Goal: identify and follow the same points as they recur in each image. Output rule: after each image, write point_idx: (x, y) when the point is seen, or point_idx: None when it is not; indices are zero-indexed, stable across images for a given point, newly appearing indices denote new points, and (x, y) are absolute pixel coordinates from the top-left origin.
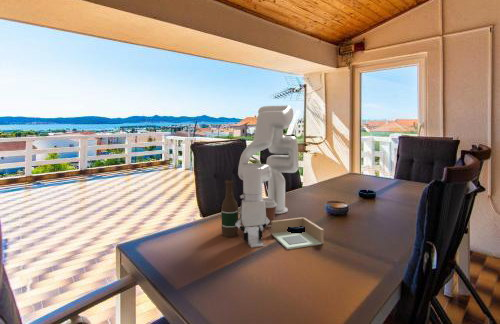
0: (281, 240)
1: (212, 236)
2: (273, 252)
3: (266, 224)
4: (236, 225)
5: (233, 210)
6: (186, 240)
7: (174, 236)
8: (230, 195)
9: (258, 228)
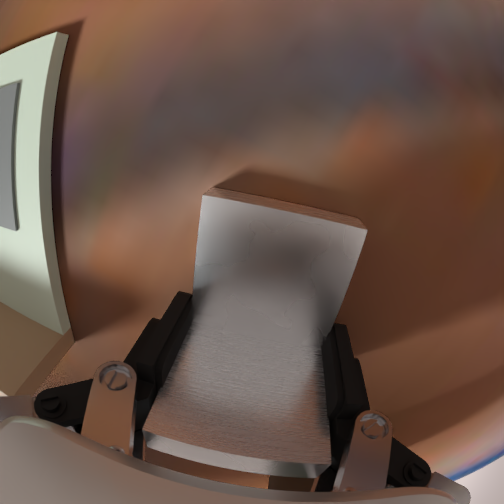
0: (29, 186)
1: (415, 449)
2: (199, 6)
3: (36, 402)
4: (464, 494)
5: None
6: (497, 429)
7: (484, 452)
8: None
9: (158, 417)
